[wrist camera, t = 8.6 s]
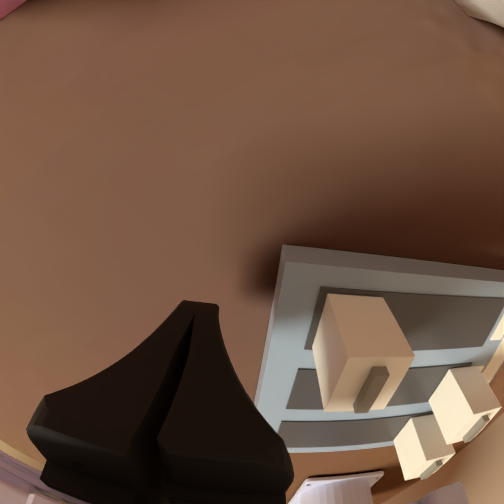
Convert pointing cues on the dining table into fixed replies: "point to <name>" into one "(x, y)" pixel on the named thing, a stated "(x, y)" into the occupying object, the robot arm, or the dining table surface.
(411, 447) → the tab
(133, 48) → the dining table surface
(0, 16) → the teakettle
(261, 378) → the switch bank
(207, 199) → the dining table surface
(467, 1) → the salt shaker
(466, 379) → the tab middle
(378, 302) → the tab
